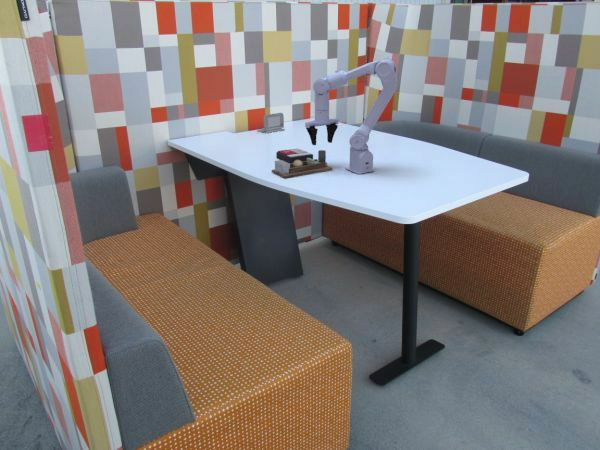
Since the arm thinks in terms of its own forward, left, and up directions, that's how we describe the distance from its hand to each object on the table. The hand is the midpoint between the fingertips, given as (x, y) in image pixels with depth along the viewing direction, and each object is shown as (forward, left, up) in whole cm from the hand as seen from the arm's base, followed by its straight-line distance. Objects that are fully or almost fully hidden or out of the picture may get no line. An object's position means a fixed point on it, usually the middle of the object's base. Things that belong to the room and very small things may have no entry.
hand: (321, 143), depth 204 cm
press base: (0, +9, -10) cm, 14 cm away
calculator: (+18, +3, -11) cm, 21 cm away
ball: (0, +11, -7) cm, 14 cm away
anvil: (0, +18, -10) cm, 21 cm away
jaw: (0, +2, -9) cm, 9 cm away
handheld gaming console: (+81, -18, -10) cm, 83 cm away
